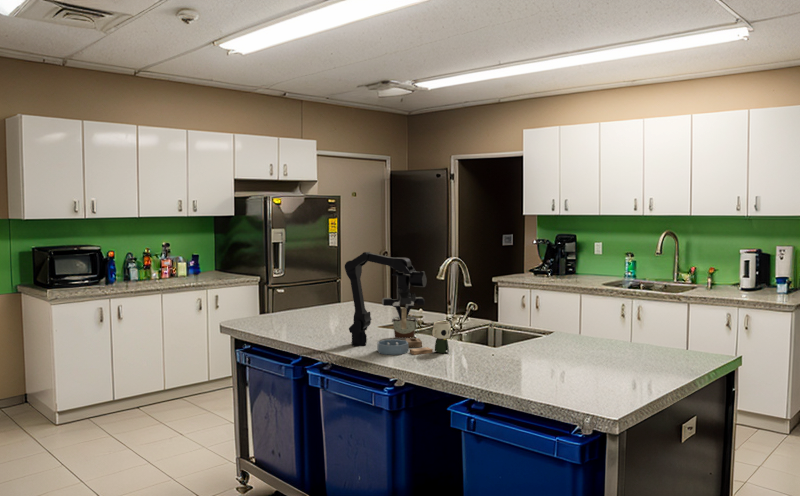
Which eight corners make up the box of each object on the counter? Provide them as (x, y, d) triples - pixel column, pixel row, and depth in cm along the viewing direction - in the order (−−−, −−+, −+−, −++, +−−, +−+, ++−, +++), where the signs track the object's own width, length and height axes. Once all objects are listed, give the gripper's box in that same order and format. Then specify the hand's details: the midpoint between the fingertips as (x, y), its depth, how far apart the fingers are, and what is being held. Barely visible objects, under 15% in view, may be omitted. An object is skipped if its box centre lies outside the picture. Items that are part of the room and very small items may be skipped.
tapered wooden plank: (414, 355, 262) (414, 351, 262) (409, 353, 266) (409, 349, 266) (432, 353, 266) (432, 349, 266) (427, 351, 270) (427, 347, 270)
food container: (417, 336, 303) (417, 316, 303) (417, 338, 297) (416, 318, 297) (393, 335, 304) (393, 315, 304) (391, 338, 298) (391, 317, 298)
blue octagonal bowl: (379, 355, 261) (379, 346, 261) (376, 348, 274) (376, 340, 274) (409, 354, 263) (409, 345, 263) (405, 347, 276) (405, 339, 276)
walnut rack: (407, 347, 277) (407, 342, 277) (405, 343, 285) (405, 338, 284) (421, 347, 278) (421, 341, 277) (419, 343, 285) (419, 338, 285)
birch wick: (401, 329, 272) (402, 309, 272) (400, 327, 277) (400, 307, 276) (406, 329, 272) (406, 309, 272) (404, 327, 277) (404, 307, 276)
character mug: (438, 355, 260) (438, 325, 260) (427, 353, 266) (427, 323, 265) (456, 351, 268) (456, 322, 267) (444, 349, 273) (444, 320, 272)
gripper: (385, 288, 264) (385, 324, 265) (427, 287, 267) (427, 322, 268) (381, 285, 275) (381, 319, 276) (422, 284, 278) (422, 318, 279)
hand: (403, 320), depth 274 cm, fingers closed on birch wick, 2 cm apart
